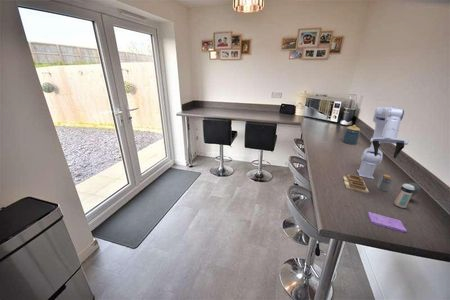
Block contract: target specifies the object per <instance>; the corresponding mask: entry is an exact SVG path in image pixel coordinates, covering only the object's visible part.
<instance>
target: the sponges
mask: <svg viewBox="0 0 450 300" xmlns="http://www.w3.org/2000/svg"><path fill="white" fill-rule="evenodd" d="M367 216H368V218H369V221H370V223H371V225H376V226H379V227H384V228H386V227H387V229H390V230H394V231H397V232H400V231H401V233H404V232H405V233H407V231H408V230H407V228H406V227H405V226H404V224H403V222H402V221H401V220H400V219H395V218H394V217H393V218H392V217H389V216H385V215H382V214H378V213H374V212H370V211H368V212H367Z"/></svg>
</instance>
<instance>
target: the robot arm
mask: <svg viewBox="0 0 450 300" xmlns="http://www.w3.org/2000/svg"><path fill="white" fill-rule="evenodd" d="M404 116H405V109H399V108H398V107H396V106H394V105H393V106H391V107H385V106H384V107H383V106H378V107H376V108H375V110H374V113H373V118H372V122H374V124H375V127H374V130H373V134H372V137H371V138H370V143H371V144H370V147H368V148H365V149H364V150H363V152H362V156H361V159H360V160H361V163H360V165H359V167H358V169H356V171H357V173H358V176H360V177H361V178H368V179H372V180H375V177H374V176H373V175H374V172H375V170H376V167H377V166H378V165H380V164H381V163H382V161H383V155H384V154H383V151H382V150H381V149H380V146H381V144H382V143H383V144H395V150H394V153H393V159H397V157H398V156H399V153H400V152H401V151H403V149H404V148H405V146H408V145H409V144H408V143H409V140H408V139H402V138H398V133H399V129H400V125H401V121H402V120H403V118H404Z"/></svg>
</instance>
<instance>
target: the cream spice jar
mask: <svg viewBox="0 0 450 300" xmlns="http://www.w3.org/2000/svg"><path fill="white" fill-rule="evenodd" d="M414 190H415V188H414V186H413V185H410V184H407V183H403V184H402V185H401V187H400V190H399V192H398V194H397V196H396V199H394V202H393V204H394V205H395V206H396V207H398V208H400V209H406V208H407V206H408V204H409V202H410V200H411V199H412V197H411V196H412V194H413V192H414ZM410 198H411V199H410Z"/></svg>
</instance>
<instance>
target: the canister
mask: <svg viewBox="0 0 450 300" xmlns="http://www.w3.org/2000/svg"><path fill="white" fill-rule="evenodd" d="M360 134H361V128H360V127H358V126H357V125H356V124H353V125H349V126H347V127H346V128H345V131H344V133H343V136H342V140H341V141H342V142H343V143H344V142H345V144H347V143H350V144H349V145H353V144H354V145H357V144H358V141H359V138H360Z"/></svg>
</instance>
